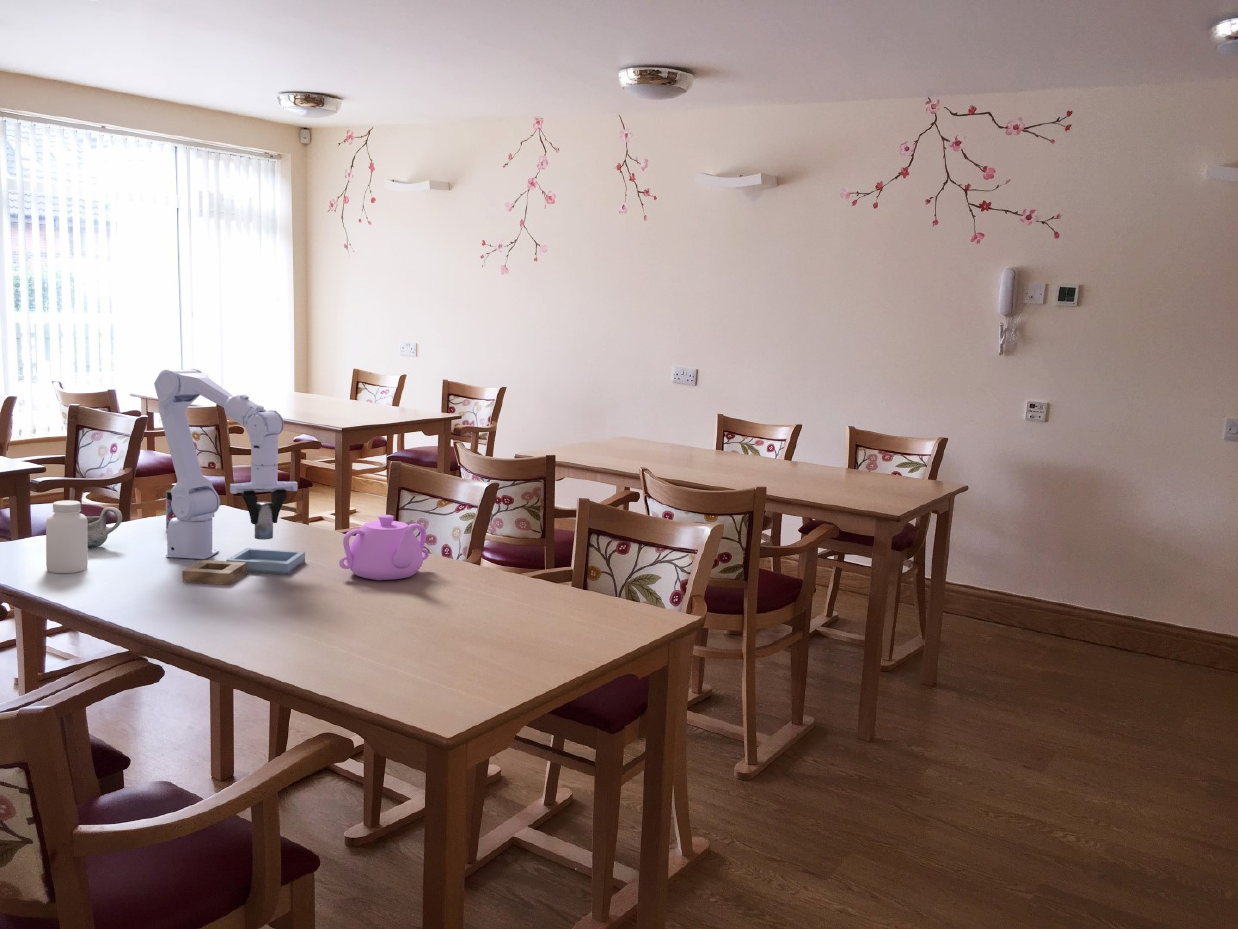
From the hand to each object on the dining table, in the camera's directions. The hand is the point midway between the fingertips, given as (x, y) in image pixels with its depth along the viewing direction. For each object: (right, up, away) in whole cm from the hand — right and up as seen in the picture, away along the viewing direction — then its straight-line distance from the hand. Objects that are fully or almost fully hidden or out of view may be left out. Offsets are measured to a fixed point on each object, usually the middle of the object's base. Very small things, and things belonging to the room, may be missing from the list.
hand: (263, 522), depth 230 cm
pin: (0, -3, 0) cm, 3 cm away
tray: (0, -10, +2) cm, 10 cm away
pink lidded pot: (+29, -13, 0) cm, 31 cm away
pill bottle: (-39, -10, -10) cm, 42 cm away
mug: (-44, -7, +9) cm, 46 cm away
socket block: (-7, -11, -10) cm, 17 cm away
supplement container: (-34, -4, +33) cm, 47 cm away
